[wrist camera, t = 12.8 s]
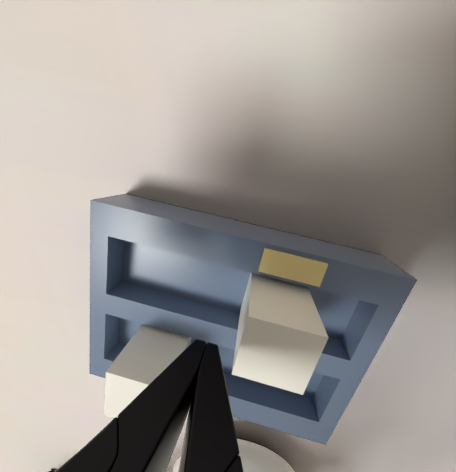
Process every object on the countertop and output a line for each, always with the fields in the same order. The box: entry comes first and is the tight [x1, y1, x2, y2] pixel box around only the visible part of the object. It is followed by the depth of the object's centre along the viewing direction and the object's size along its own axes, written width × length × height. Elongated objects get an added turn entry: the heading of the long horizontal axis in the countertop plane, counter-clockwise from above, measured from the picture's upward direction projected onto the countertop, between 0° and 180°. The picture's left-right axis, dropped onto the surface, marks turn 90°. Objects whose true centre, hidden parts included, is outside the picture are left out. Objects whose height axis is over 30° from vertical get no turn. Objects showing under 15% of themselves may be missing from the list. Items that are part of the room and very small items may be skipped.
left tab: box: [104, 324, 192, 418], centre depth 13 cm, size 3×3×4 cm
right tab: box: [232, 273, 328, 395], centre depth 11 cm, size 3×3×4 cm
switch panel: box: [90, 194, 417, 445], centre depth 14 cm, size 12×16×3 cm
